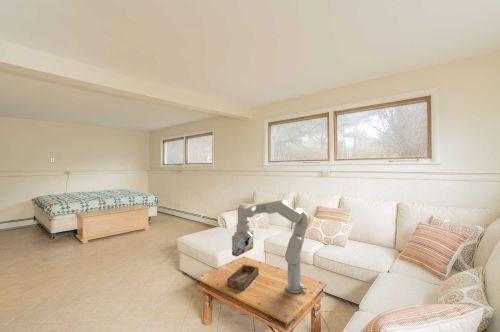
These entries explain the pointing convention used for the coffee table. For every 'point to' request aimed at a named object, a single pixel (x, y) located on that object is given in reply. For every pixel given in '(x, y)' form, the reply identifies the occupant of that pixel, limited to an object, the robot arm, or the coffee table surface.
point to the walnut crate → (243, 277)
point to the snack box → (241, 244)
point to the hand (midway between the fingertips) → (243, 244)
